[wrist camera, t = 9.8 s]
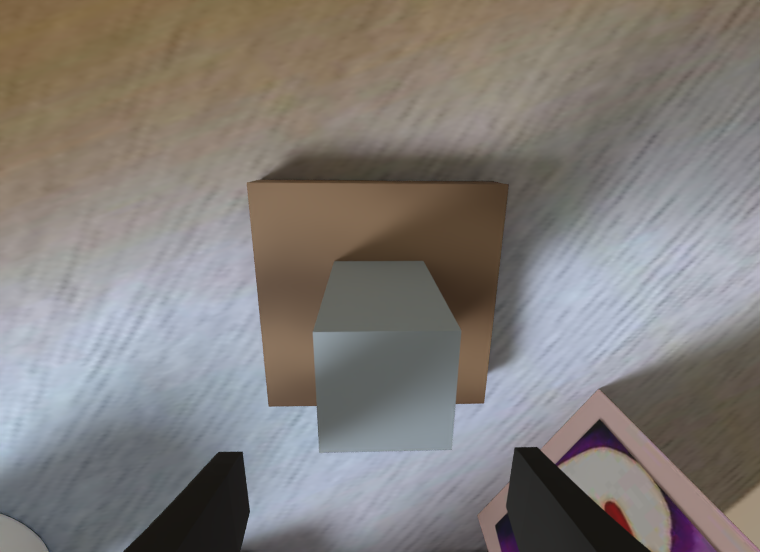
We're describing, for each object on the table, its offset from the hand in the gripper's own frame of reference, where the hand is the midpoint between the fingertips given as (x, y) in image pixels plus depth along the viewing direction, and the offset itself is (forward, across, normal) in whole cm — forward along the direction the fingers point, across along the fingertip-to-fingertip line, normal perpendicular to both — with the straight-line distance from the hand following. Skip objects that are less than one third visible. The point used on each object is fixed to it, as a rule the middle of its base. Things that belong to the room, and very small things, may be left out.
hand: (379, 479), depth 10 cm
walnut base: (+10, 0, -2) cm, 10 cm away
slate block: (+8, 0, -2) cm, 8 cm away
